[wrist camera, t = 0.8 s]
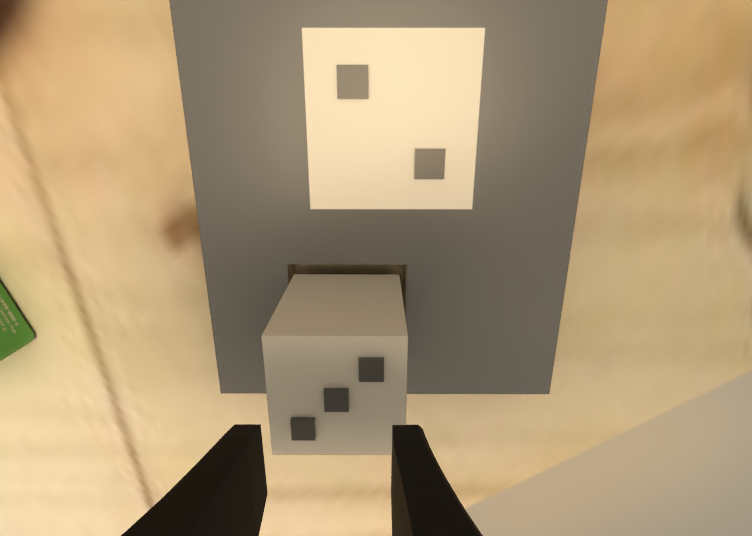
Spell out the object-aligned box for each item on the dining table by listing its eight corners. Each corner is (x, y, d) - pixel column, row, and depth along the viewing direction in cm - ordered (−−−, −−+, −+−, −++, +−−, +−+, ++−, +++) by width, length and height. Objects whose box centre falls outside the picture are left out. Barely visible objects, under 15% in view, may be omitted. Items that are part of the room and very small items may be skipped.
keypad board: (624, -268, 13) (654, -315, 12) (537, 374, 20) (549, 393, 19) (154, -267, 13) (128, -314, 12) (231, 373, 20) (220, 393, 19)
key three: (399, 274, 17) (408, 338, 12) (397, 366, 18) (405, 458, 13) (294, 274, 17) (259, 338, 12) (300, 366, 18) (271, 458, 13)
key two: (449, 57, 14) (486, 26, 9) (443, 181, 16) (473, 210, 11) (326, 57, 14) (300, 26, 10) (330, 181, 16) (309, 210, 11)
